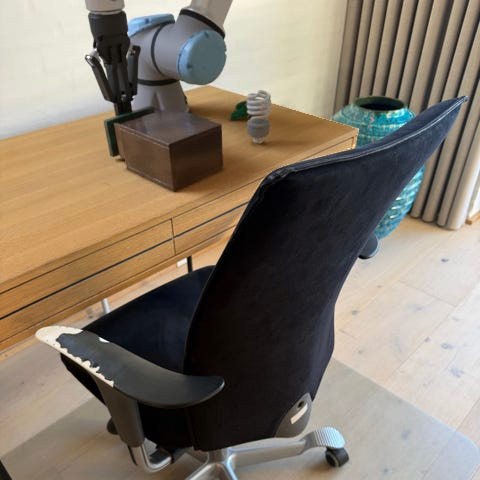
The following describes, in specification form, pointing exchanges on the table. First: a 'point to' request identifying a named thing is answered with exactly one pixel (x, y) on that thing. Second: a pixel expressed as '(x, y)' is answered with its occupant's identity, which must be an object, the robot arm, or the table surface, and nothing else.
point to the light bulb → (258, 124)
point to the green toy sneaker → (240, 111)
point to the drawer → (114, 129)
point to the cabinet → (172, 147)
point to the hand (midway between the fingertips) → (127, 130)
